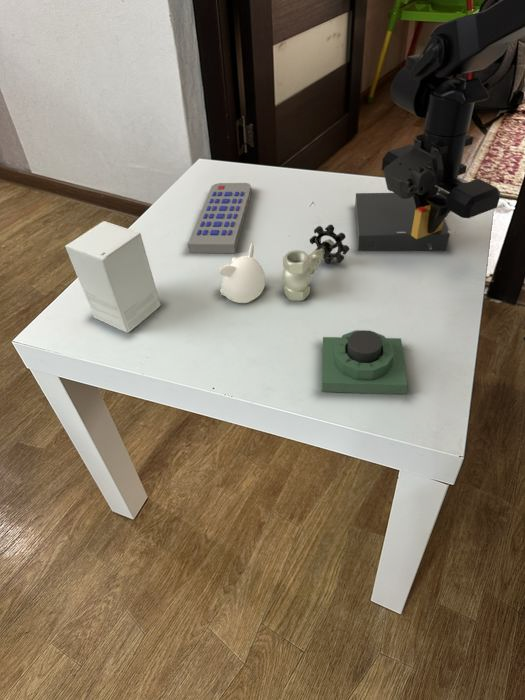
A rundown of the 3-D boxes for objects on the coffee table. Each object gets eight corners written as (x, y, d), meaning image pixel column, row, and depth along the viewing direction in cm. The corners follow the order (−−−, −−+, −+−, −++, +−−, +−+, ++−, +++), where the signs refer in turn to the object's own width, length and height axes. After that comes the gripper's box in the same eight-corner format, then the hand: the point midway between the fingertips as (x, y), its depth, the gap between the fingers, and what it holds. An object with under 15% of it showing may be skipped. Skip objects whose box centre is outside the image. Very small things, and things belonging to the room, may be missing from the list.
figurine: (243, 272, 79) (239, 236, 75) (276, 284, 76) (274, 248, 72) (211, 299, 75) (205, 263, 70) (245, 313, 72) (241, 276, 67)
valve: (308, 308, 72) (348, 266, 78) (308, 271, 67) (350, 230, 74) (271, 294, 75) (312, 255, 81) (268, 257, 70) (312, 219, 77)
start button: (379, 340, 62) (380, 330, 60) (381, 363, 59) (383, 353, 58) (346, 340, 62) (347, 329, 61) (347, 363, 59) (348, 352, 58)
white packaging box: (162, 305, 74) (142, 232, 66) (127, 335, 70) (101, 260, 61) (128, 290, 78) (104, 218, 69) (92, 318, 74) (62, 245, 65)
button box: (399, 347, 65) (402, 327, 62) (405, 394, 59) (410, 374, 57) (322, 346, 66) (323, 326, 64) (321, 391, 60) (322, 372, 58)
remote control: (189, 253, 84) (186, 242, 83) (214, 189, 100) (213, 179, 98) (235, 254, 83) (233, 243, 82) (253, 189, 99) (252, 179, 97)
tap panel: (439, 207, 89) (443, 190, 87) (457, 265, 77) (462, 248, 74) (354, 208, 91) (356, 192, 89) (358, 265, 78) (360, 248, 76)
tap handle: (435, 226, 79) (441, 198, 76) (441, 230, 78) (447, 202, 75) (410, 235, 78) (415, 208, 75) (416, 239, 77) (421, 212, 74)
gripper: (356, 121, 71) (350, 219, 82) (448, 169, 59) (426, 276, 70) (418, 104, 74) (404, 200, 85) (517, 146, 62) (486, 252, 73)
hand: (427, 230), depth 78 cm, fingers closed on tap handle
